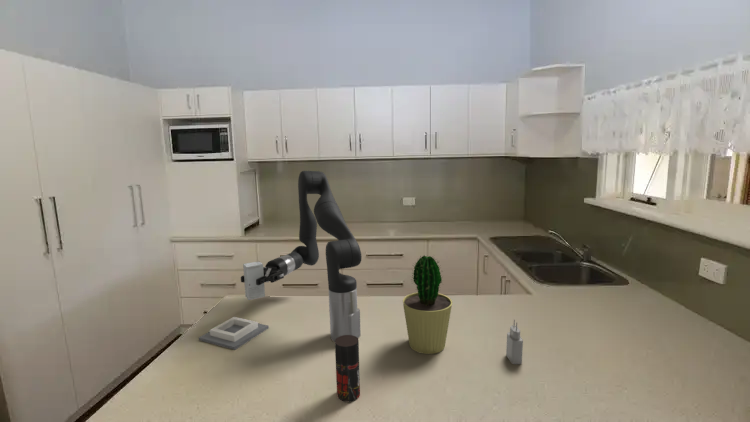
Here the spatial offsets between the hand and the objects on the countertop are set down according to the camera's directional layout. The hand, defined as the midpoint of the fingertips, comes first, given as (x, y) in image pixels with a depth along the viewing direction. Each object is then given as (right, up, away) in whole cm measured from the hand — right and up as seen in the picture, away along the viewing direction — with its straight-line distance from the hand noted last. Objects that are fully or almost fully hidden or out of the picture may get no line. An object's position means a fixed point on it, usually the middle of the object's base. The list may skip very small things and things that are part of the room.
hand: (249, 281), depth 133 cm
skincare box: (+1, -6, +3) cm, 7 cm away
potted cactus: (+60, -19, -10) cm, 64 cm away
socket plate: (-5, -18, 0) cm, 19 cm away
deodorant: (+37, -23, -34) cm, 55 cm away
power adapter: (+85, -20, -19) cm, 89 cm away
